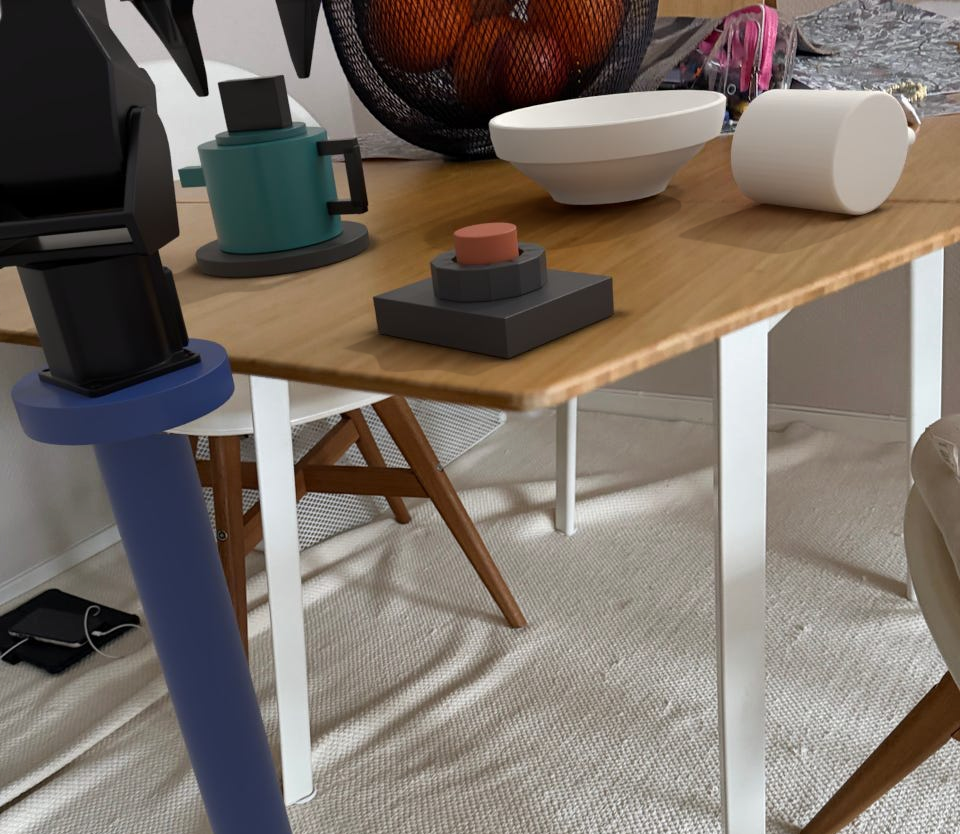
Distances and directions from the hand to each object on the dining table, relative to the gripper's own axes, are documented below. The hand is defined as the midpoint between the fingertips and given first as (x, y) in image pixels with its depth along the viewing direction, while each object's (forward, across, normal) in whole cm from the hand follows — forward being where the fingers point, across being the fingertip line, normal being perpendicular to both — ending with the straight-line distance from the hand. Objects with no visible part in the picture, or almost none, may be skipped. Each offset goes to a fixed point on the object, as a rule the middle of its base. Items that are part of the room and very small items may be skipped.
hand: (255, 87), depth 82 cm
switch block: (+12, -7, -30) cm, 33 cm away
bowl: (+12, +25, -13) cm, 31 cm away
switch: (+9, -7, -30) cm, 32 cm away
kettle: (+11, 0, +1) cm, 11 cm away
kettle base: (+12, 0, +1) cm, 12 cm away
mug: (+12, +28, -32) cm, 45 cm away
